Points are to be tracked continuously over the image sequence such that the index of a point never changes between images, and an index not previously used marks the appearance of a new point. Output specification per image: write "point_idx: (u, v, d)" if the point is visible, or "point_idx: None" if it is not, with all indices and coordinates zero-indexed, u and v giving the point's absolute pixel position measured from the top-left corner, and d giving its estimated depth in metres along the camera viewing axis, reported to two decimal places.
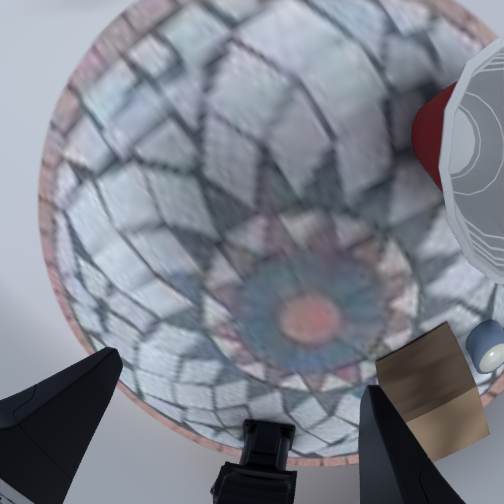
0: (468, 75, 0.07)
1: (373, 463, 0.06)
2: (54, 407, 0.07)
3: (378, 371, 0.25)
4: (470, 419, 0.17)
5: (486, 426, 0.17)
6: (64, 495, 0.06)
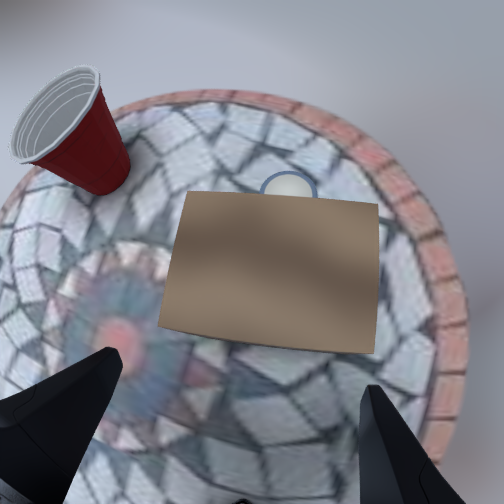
0: (12, 133, 0.20)
1: (373, 463, 0.06)
2: (54, 407, 0.07)
3: None
4: (267, 216, 0.16)
5: (333, 201, 0.16)
6: (63, 495, 0.06)
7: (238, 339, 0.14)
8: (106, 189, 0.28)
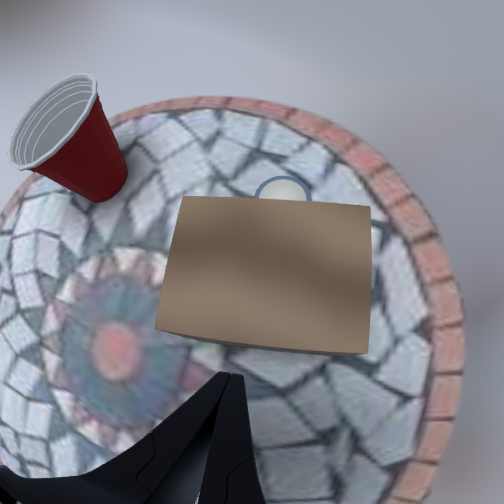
0: (11, 140, 0.20)
1: None
2: (181, 458, 0.06)
3: None
4: (261, 220, 0.17)
5: (326, 204, 0.16)
6: None
7: (233, 340, 0.15)
8: (103, 196, 0.28)
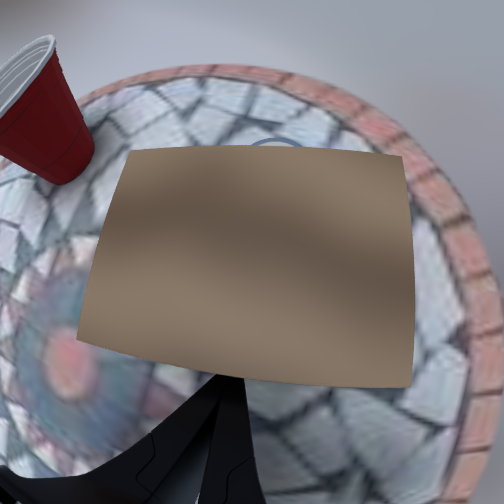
0: None
1: None
2: (181, 458, 0.06)
3: None
4: (236, 175, 0.10)
5: (336, 152, 0.10)
6: None
7: (186, 366, 0.08)
8: (65, 176, 0.22)
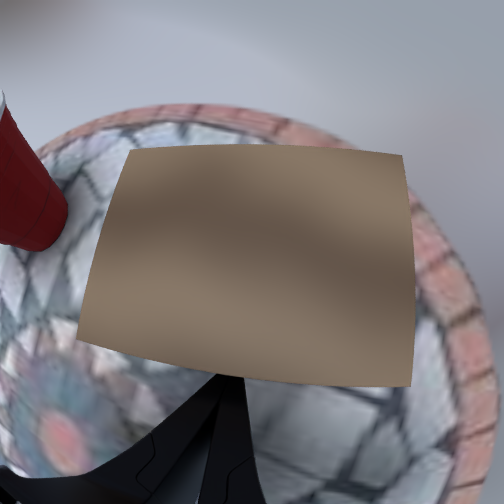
0: None
1: None
2: (181, 457, 0.06)
3: None
4: (236, 174, 0.10)
5: (337, 151, 0.10)
6: None
7: (186, 365, 0.08)
8: (38, 246, 0.20)
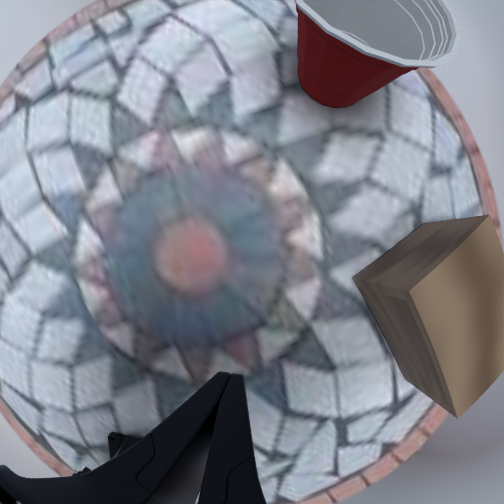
0: None
1: None
2: (181, 458, 0.06)
3: (361, 278, 0.21)
4: (501, 292, 0.14)
5: None
6: None
7: (435, 351, 0.14)
8: (319, 98, 0.21)
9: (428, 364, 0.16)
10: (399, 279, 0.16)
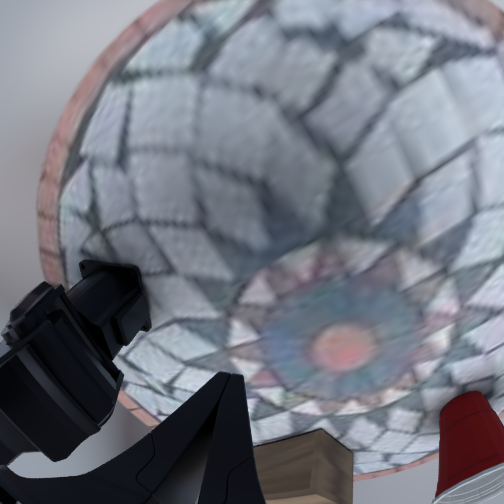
0: None
1: None
2: (181, 457, 0.06)
3: (321, 439, 0.27)
4: None
5: None
6: None
7: (279, 499, 0.22)
8: (448, 410, 0.23)
9: (267, 487, 0.24)
10: (321, 478, 0.23)
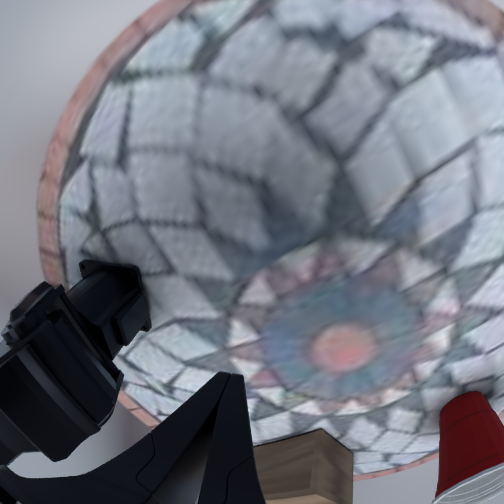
0: None
1: None
2: (181, 458, 0.06)
3: (321, 439, 0.27)
4: None
5: None
6: None
7: (279, 499, 0.22)
8: (448, 410, 0.23)
9: (267, 487, 0.24)
10: (321, 478, 0.23)
